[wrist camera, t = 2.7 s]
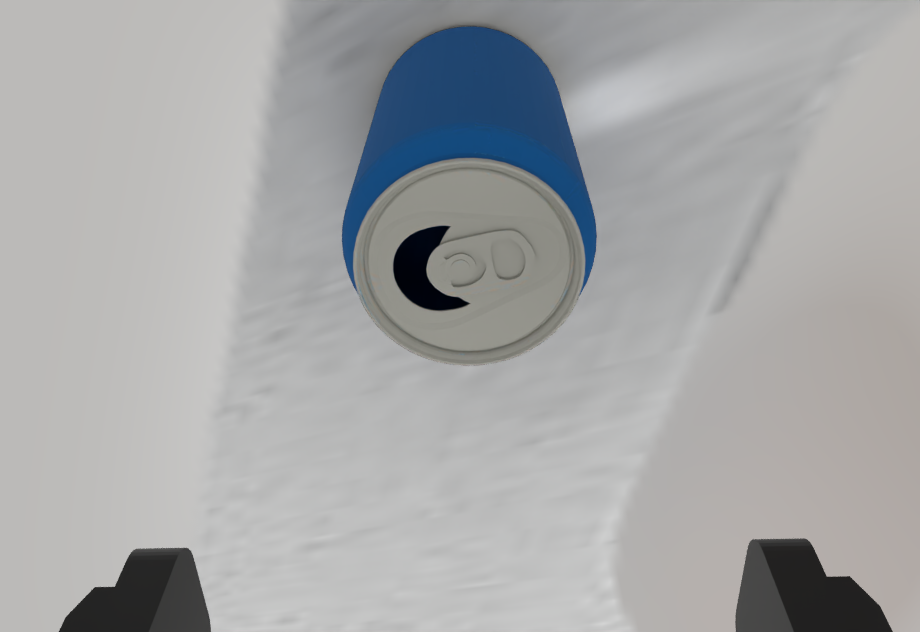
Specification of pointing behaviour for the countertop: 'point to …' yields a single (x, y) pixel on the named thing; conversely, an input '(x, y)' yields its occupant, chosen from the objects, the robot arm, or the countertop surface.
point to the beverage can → (469, 202)
